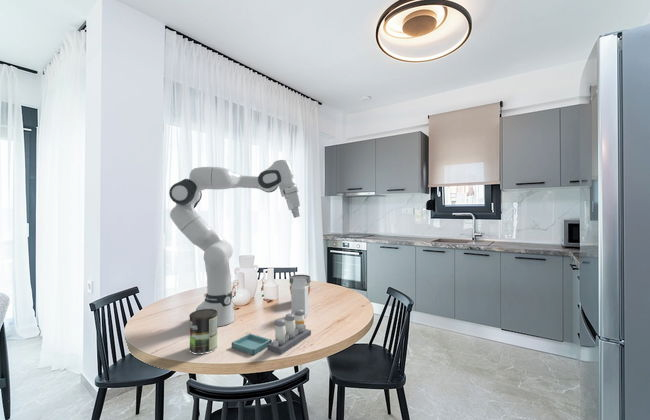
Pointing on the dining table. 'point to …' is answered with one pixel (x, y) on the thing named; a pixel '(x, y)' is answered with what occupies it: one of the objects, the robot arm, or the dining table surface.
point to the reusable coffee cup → (300, 278)
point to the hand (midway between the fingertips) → (296, 217)
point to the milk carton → (299, 296)
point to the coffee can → (203, 331)
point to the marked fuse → (299, 320)
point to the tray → (251, 344)
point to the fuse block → (289, 341)
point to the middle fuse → (290, 325)
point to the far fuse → (280, 331)
